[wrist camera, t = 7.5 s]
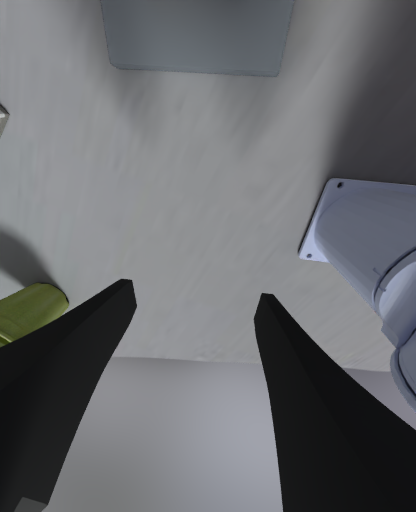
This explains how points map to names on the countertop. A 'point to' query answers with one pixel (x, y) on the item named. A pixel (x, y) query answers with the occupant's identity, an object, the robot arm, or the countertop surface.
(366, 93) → the countertop surface
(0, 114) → the skyscraper
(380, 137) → the countertop surface
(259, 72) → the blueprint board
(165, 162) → the countertop surface
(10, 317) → the plant pot
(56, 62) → the countertop surface
